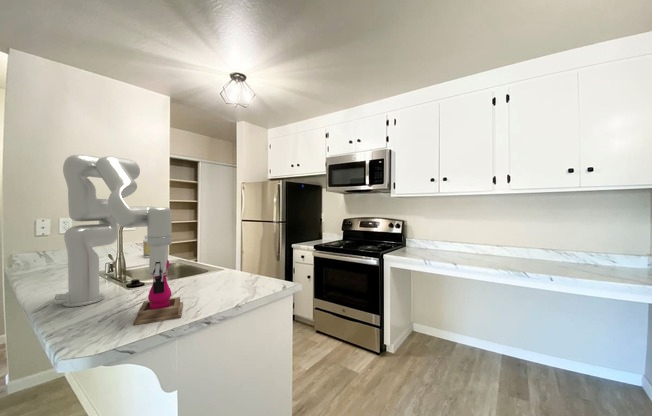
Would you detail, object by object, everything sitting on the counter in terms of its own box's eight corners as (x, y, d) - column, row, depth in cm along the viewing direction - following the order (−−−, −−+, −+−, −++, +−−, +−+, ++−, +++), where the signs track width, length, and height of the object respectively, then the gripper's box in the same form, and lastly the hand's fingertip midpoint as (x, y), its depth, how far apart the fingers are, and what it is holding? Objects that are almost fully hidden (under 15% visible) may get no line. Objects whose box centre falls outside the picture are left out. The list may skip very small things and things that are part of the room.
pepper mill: (160, 312, 94) (160, 255, 94) (143, 310, 95) (142, 254, 95) (176, 304, 101) (175, 251, 101) (159, 303, 102) (159, 251, 102)
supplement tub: (161, 254, 213) (160, 233, 213) (163, 257, 204) (163, 234, 204) (142, 256, 206) (142, 234, 205) (144, 259, 196) (144, 236, 196)
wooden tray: (133, 325, 89) (133, 314, 89) (141, 310, 101) (141, 301, 101) (181, 317, 95) (180, 307, 95) (183, 304, 107) (183, 295, 107)
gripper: (151, 238, 104) (151, 285, 104) (143, 244, 88) (143, 299, 89) (173, 237, 107) (173, 282, 107) (169, 243, 92) (169, 296, 92)
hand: (159, 289), depth 98 cm, fingers closed on pepper mill, 5 cm apart
